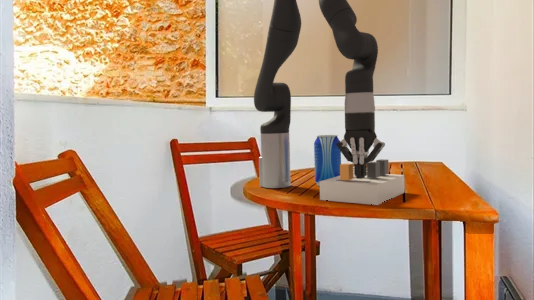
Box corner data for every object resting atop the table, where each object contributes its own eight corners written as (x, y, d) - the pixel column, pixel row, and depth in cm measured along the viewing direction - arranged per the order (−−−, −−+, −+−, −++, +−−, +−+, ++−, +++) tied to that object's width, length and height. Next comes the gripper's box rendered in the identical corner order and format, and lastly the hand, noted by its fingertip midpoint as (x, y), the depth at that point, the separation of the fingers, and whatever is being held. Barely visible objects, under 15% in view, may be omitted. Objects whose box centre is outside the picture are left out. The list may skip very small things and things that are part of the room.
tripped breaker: (340, 179, 119) (340, 164, 119) (345, 178, 122) (344, 163, 121) (348, 180, 118) (348, 164, 117) (353, 178, 120) (353, 163, 120)
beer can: (340, 187, 141) (339, 135, 140) (313, 187, 143) (312, 136, 142) (342, 183, 149) (341, 134, 148) (316, 183, 151) (315, 135, 150)
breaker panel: (320, 199, 121) (319, 180, 120) (351, 188, 137) (351, 172, 137) (377, 205, 112) (377, 184, 111) (404, 192, 128) (404, 174, 127)
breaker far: (376, 174, 127) (376, 160, 127) (380, 173, 129) (380, 159, 129) (384, 175, 126) (384, 160, 125) (388, 173, 128) (388, 159, 128)
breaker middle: (367, 177, 122) (366, 162, 121) (371, 176, 124) (371, 161, 124) (375, 178, 120) (375, 163, 120) (379, 176, 123) (379, 161, 122)
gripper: (329, 112, 117) (331, 178, 118) (378, 110, 109) (379, 181, 111) (342, 111, 123) (343, 175, 124) (389, 110, 116) (390, 177, 117)
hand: (360, 178), depth 118 cm, fingers closed
